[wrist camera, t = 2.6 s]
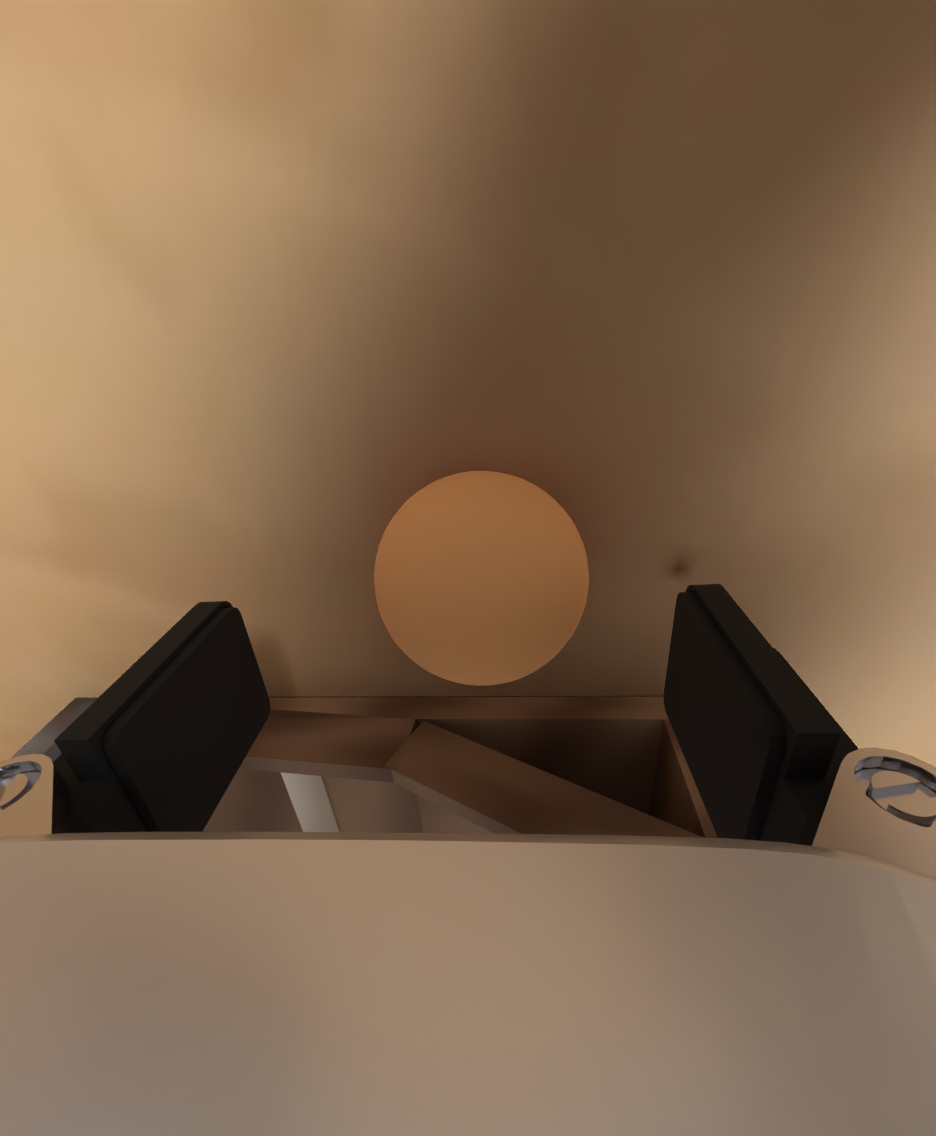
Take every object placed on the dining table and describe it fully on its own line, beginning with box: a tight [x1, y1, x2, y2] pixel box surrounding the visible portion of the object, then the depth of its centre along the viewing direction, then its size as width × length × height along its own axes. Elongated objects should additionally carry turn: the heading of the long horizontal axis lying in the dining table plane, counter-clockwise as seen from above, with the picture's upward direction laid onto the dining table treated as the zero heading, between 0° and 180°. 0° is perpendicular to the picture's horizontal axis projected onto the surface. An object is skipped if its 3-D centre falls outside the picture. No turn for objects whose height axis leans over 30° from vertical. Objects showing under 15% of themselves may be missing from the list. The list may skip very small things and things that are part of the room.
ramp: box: [10, 697, 718, 838], centre depth 17 cm, size 22×13×7 cm, turn 94°
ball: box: [374, 471, 589, 686], centre depth 12 cm, size 5×5×5 cm
